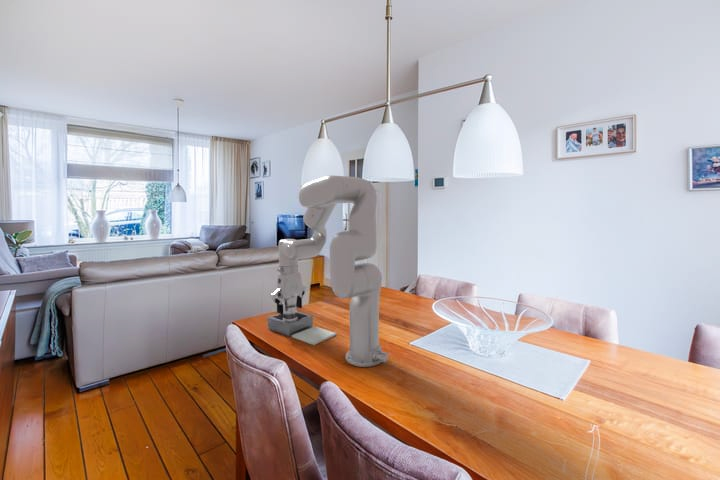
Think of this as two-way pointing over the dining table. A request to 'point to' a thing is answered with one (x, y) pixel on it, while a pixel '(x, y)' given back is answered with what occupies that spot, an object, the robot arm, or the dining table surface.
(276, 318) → the steel collar
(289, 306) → the plastic bottle
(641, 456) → the dining table surface
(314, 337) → the mat
